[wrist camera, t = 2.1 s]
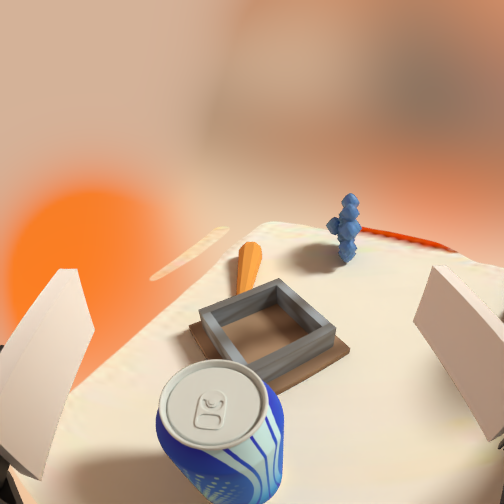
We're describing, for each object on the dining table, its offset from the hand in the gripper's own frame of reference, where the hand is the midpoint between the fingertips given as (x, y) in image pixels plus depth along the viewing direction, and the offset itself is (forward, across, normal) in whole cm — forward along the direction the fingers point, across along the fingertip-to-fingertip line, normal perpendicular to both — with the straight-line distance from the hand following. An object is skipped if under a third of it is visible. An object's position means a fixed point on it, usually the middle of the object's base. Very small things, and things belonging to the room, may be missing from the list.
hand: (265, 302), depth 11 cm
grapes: (+42, +21, -20) cm, 51 cm away
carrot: (+35, +2, -23) cm, 42 cm away
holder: (+22, +4, -23) cm, 32 cm away
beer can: (+3, 0, -25) cm, 25 cm away
